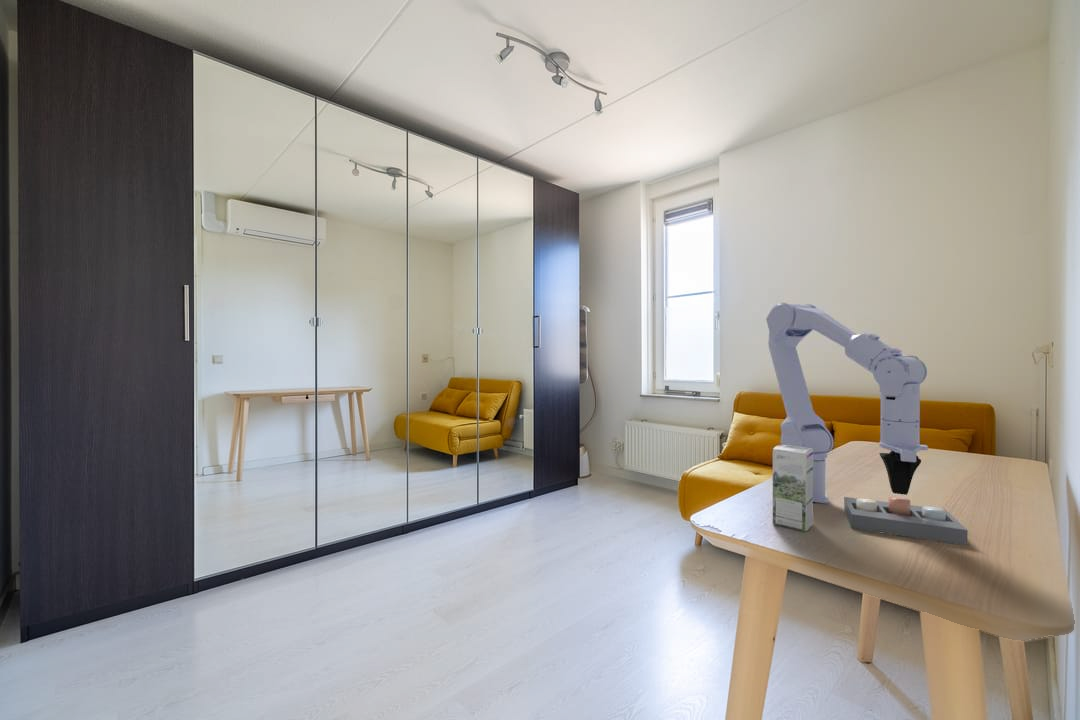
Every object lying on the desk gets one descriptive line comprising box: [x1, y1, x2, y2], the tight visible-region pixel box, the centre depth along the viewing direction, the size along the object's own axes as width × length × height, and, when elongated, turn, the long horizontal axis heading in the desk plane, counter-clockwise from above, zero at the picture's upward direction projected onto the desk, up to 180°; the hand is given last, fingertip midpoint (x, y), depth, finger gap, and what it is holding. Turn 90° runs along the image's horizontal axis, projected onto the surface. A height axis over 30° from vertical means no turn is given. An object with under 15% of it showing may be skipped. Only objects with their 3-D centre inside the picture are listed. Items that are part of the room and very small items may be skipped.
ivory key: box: [856, 497, 877, 512], centre depth 87 cm, size 3×3×3 cm
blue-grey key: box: [922, 505, 947, 521], centre depth 82 cm, size 3×3×3 cm
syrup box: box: [772, 444, 814, 532], centre depth 85 cm, size 6×6×14 cm
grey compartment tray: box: [843, 496, 969, 547], centre depth 85 cm, size 16×12×3 cm
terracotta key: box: [887, 495, 911, 516], centre depth 85 cm, size 3×3×3 cm
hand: (899, 493), depth 85 cm, fingers closed
